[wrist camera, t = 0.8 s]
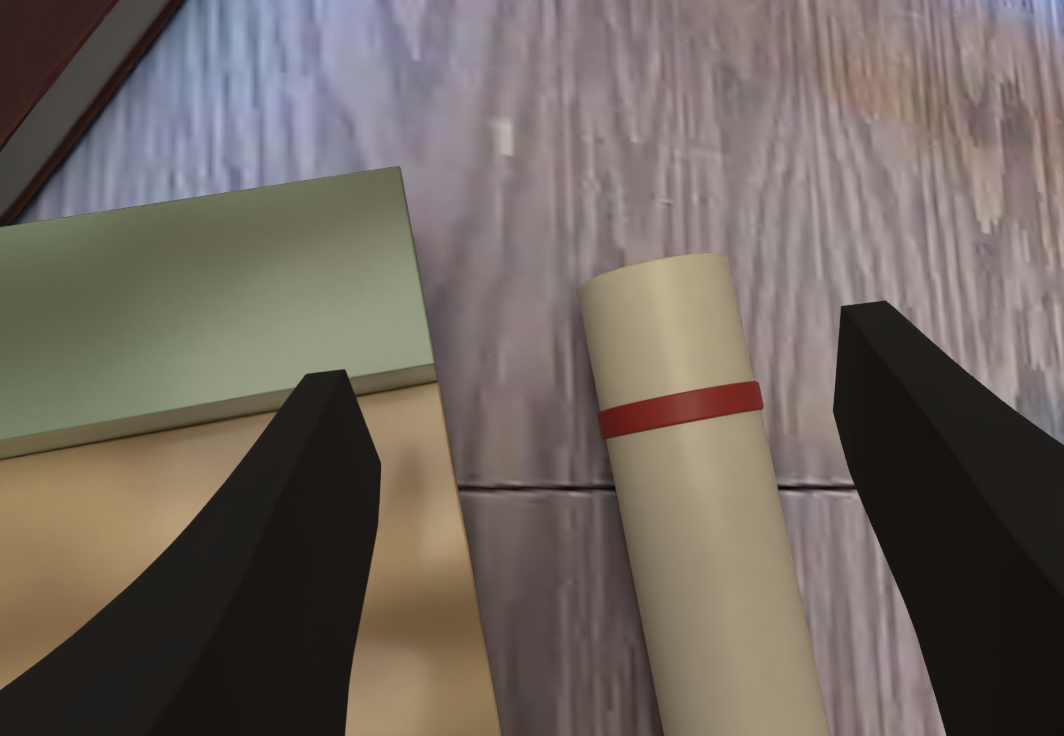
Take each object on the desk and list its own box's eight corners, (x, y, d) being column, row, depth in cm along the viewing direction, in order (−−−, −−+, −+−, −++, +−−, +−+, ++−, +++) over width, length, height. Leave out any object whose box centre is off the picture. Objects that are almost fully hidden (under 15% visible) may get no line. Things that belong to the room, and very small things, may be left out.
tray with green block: (506, 762, 27) (520, 840, 21) (-188, 916, 25) (-393, 1052, 19) (412, 232, 28) (399, 165, 22) (-242, 338, 26) (-444, 294, 21)
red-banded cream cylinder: (808, 765, 27) (881, 821, 23) (660, 800, 27) (703, 864, 22) (705, 279, 29) (753, 241, 24) (563, 303, 28) (586, 269, 24)
